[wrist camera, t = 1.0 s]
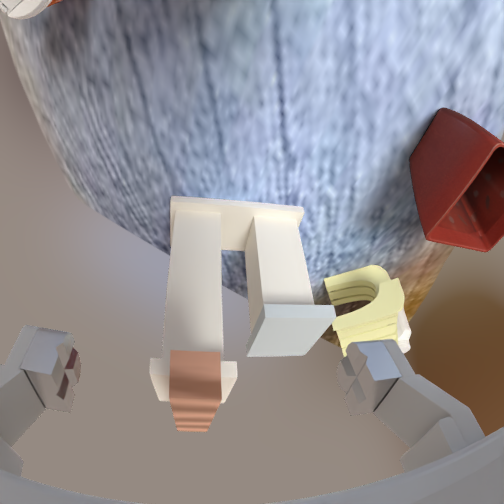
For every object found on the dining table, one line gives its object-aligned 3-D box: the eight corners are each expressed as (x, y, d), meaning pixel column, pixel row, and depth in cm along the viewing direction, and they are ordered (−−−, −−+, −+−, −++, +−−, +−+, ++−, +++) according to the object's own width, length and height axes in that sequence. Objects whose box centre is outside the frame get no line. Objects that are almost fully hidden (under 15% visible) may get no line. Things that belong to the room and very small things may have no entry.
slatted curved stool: (384, 300, 90) (400, 353, 79) (335, 314, 94) (347, 368, 83) (383, 240, 68) (409, 308, 57) (317, 260, 72) (333, 330, 61)
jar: (369, 320, 101) (380, 361, 91) (369, 308, 94) (381, 352, 84) (401, 311, 98) (413, 351, 89) (403, 298, 91) (417, 341, 82)
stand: (171, 186, 53) (149, 373, 33) (306, 199, 57) (347, 371, 37) (171, 240, 63) (159, 400, 43) (286, 248, 68) (310, 399, 48)
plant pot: (451, 193, 57) (488, 254, 47) (385, 170, 53) (423, 240, 42) (497, 124, 43) (549, 181, 33) (435, 83, 39) (498, 140, 28)
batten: (170, 349, 27) (169, 397, 24) (220, 352, 28) (221, 399, 25) (177, 404, 45) (177, 430, 42) (205, 405, 46) (206, 431, 43)
